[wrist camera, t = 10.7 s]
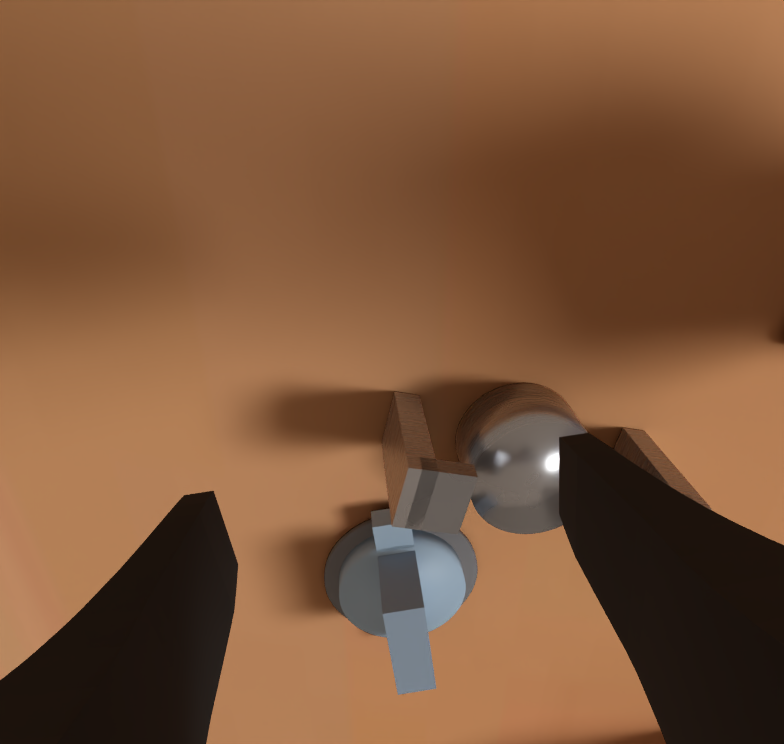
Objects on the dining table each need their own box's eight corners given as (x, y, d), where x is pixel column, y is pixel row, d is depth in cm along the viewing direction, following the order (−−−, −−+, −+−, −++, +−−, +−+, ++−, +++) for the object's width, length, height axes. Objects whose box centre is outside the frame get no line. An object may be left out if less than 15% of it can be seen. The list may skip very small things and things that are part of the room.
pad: (494, 522, 27) (496, 527, 26) (453, 631, 29) (454, 636, 29) (339, 503, 25) (339, 508, 25) (313, 619, 28) (312, 624, 28)
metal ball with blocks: (657, 404, 24) (728, 478, 20) (611, 500, 27) (667, 587, 22) (402, 361, 23) (418, 433, 18) (374, 468, 25) (383, 556, 20)
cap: (467, 627, 29) (485, 704, 25) (353, 645, 29) (356, 725, 25) (454, 498, 25) (473, 567, 22) (324, 518, 25) (322, 592, 22)
